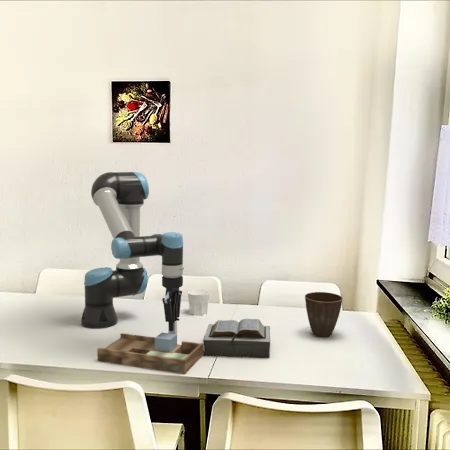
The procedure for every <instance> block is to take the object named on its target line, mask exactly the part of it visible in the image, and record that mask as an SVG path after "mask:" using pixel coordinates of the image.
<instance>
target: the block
mask: <svg viewBox="0 0 450 450" xmlns="http://www.w3.org/2000/svg"><path fill="white" fill-rule="evenodd" d="M154 337H155V350H158V351H166V352H171V351H172V350H173V349H175V348H176V347H177V344H178V333H177V334H170V333H168V332H161V333H159V334H158V335H156V336H154Z"/></svg>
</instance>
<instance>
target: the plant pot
mask: <svg viewBox="0 0 450 450" xmlns="http://www.w3.org/2000/svg"><path fill="white" fill-rule="evenodd" d="M304 299H305V308H306V309H305V310H306V313H307V319H308V322H309V323H308V324H309V326H310V330H311V333H312V335H313V336H314V337H316V338H322V339H325V338H327V339H328V338H330V337H332V335H333V332H334V330H335V327H336V325H337V323H338V320H339V316H340V313H341V308H342V304H343V300H344V299H343V296H342V295H339V294H336V293H331V292H325V291H314V292H313V291H312V292H309V293H306V294H305V295H304Z"/></svg>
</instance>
